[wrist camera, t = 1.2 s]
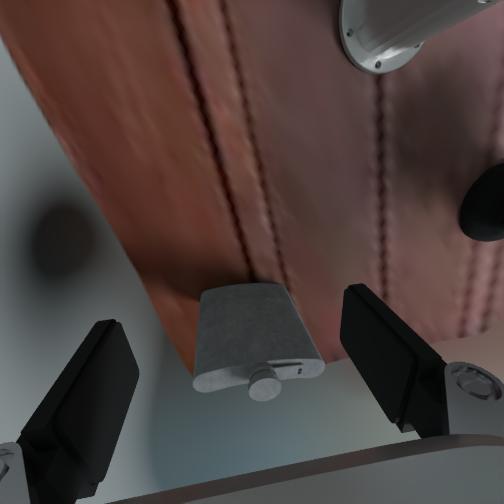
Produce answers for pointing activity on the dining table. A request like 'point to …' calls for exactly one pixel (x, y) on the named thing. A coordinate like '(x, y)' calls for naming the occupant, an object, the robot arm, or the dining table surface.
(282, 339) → the hip flask
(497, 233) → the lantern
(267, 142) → the dining table surface
